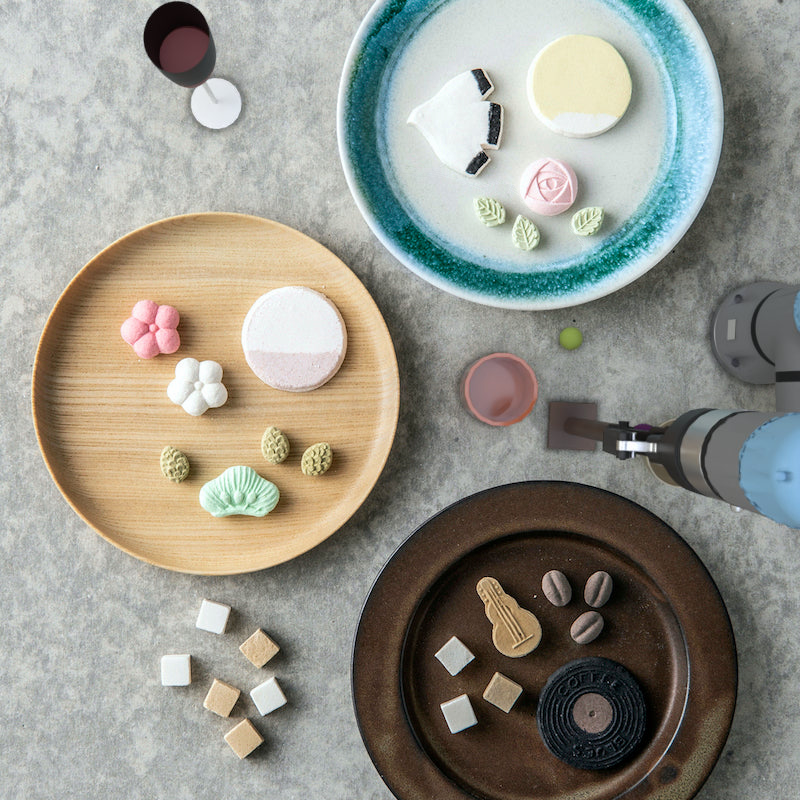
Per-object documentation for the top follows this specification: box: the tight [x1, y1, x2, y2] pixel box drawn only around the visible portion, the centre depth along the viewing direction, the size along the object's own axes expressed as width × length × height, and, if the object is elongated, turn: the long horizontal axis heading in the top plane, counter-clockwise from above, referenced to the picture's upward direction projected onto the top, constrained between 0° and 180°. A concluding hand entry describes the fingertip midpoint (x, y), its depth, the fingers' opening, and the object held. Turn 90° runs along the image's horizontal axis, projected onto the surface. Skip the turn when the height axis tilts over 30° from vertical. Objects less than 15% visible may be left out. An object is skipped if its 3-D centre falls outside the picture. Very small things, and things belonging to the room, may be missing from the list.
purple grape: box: [633, 423, 654, 431], centre depth 78 cm, size 3×3×3 cm
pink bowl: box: [458, 352, 539, 427], centre depth 104 cm, size 10×10×8 cm
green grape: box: [558, 326, 584, 351], centre depth 106 cm, size 3×3×3 cm
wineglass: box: [142, 0, 243, 130], centre depth 96 cm, size 8×9×20 cm
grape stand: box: [546, 401, 617, 451], centre depth 97 cm, size 7×7×22 cm
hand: (628, 436), depth 82 cm, fingers closed on purple grape, 3 cm apart
